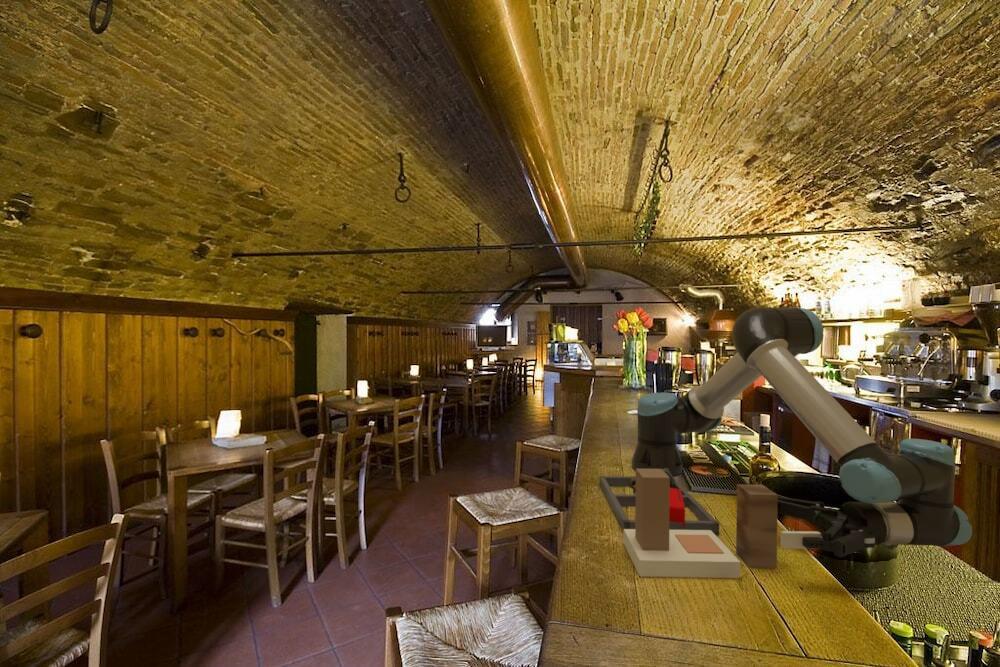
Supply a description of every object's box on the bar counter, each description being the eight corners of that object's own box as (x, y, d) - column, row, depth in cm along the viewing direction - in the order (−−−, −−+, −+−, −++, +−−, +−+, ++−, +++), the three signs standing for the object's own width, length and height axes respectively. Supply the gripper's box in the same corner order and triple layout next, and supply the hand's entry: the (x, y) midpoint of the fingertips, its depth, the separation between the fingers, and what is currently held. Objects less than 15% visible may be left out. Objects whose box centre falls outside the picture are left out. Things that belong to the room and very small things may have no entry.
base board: (623, 543, 91) (623, 462, 91) (710, 544, 91) (711, 463, 90) (639, 576, 79) (640, 484, 79) (740, 578, 79) (741, 485, 78)
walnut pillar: (736, 553, 87) (736, 484, 87) (761, 554, 87) (762, 484, 87) (749, 567, 82) (750, 494, 82) (776, 568, 82) (777, 494, 82)
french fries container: (640, 532, 98) (639, 502, 111) (684, 539, 95) (677, 507, 108) (640, 503, 97) (639, 476, 110) (685, 508, 94) (678, 480, 108)
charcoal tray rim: (599, 484, 124) (599, 475, 124) (672, 485, 123) (672, 476, 123) (624, 533, 96) (624, 522, 95) (719, 534, 95) (719, 523, 95)
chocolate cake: (623, 497, 117) (656, 473, 111) (626, 481, 123) (657, 458, 117) (651, 521, 116) (685, 499, 110) (652, 504, 122) (685, 482, 116)
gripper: (935, 581, 71) (802, 579, 72) (825, 513, 96) (727, 512, 96) (936, 535, 71) (803, 534, 71) (826, 479, 96) (728, 479, 96)
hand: (759, 521), depth 84 cm, fingers open, 13 cm apart
